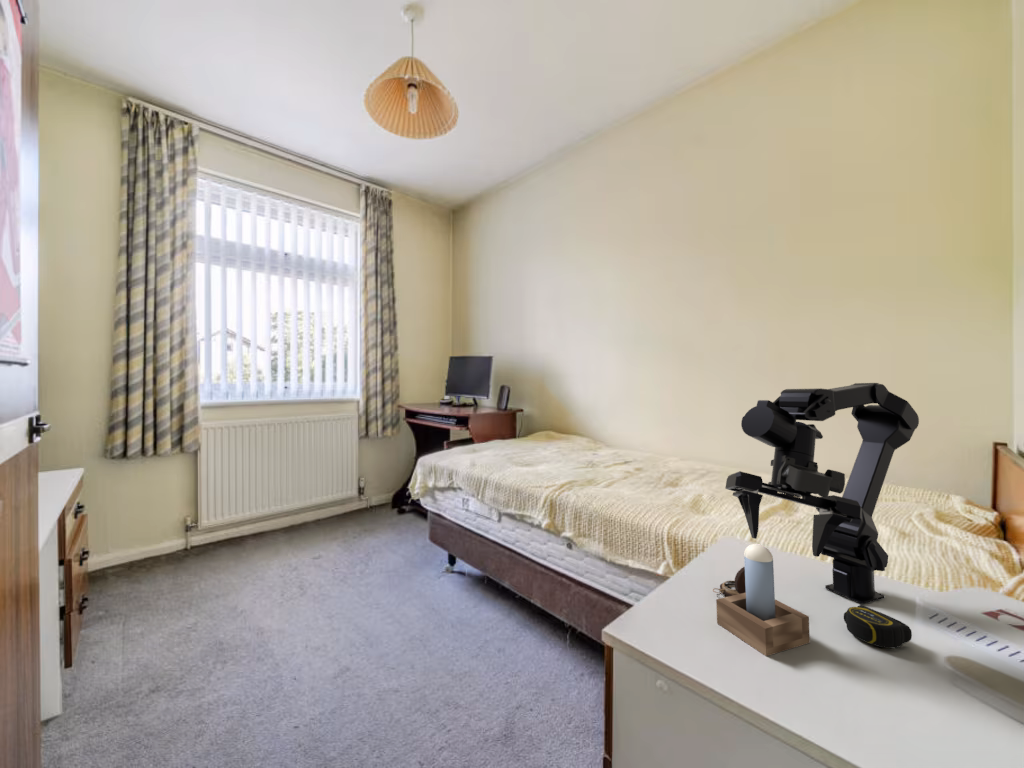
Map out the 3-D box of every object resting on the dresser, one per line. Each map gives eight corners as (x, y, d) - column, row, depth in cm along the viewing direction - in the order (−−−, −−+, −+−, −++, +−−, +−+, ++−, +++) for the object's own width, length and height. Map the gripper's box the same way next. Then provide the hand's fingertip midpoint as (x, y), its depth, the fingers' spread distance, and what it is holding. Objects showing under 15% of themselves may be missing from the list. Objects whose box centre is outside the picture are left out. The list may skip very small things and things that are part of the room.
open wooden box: (757, 612, 71) (756, 589, 71) (809, 642, 62) (808, 616, 62) (717, 623, 68) (716, 599, 68) (766, 656, 59) (765, 628, 59)
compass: (741, 585, 81) (740, 548, 81) (770, 605, 73) (769, 565, 73) (703, 588, 80) (702, 551, 80) (729, 609, 72) (728, 568, 72)
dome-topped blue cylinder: (759, 617, 68) (756, 538, 68) (782, 630, 64) (778, 547, 64) (741, 622, 66) (737, 542, 67) (763, 635, 63) (759, 550, 63)
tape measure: (915, 648, 61) (914, 623, 61) (884, 658, 59) (883, 631, 59) (863, 623, 67) (863, 601, 67) (834, 631, 65) (833, 608, 65)
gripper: (753, 432, 66) (741, 529, 62) (888, 463, 61) (884, 571, 57) (730, 445, 76) (718, 529, 72) (843, 472, 72) (838, 564, 67)
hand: (784, 547), depth 67 cm, fingers open, 9 cm apart
